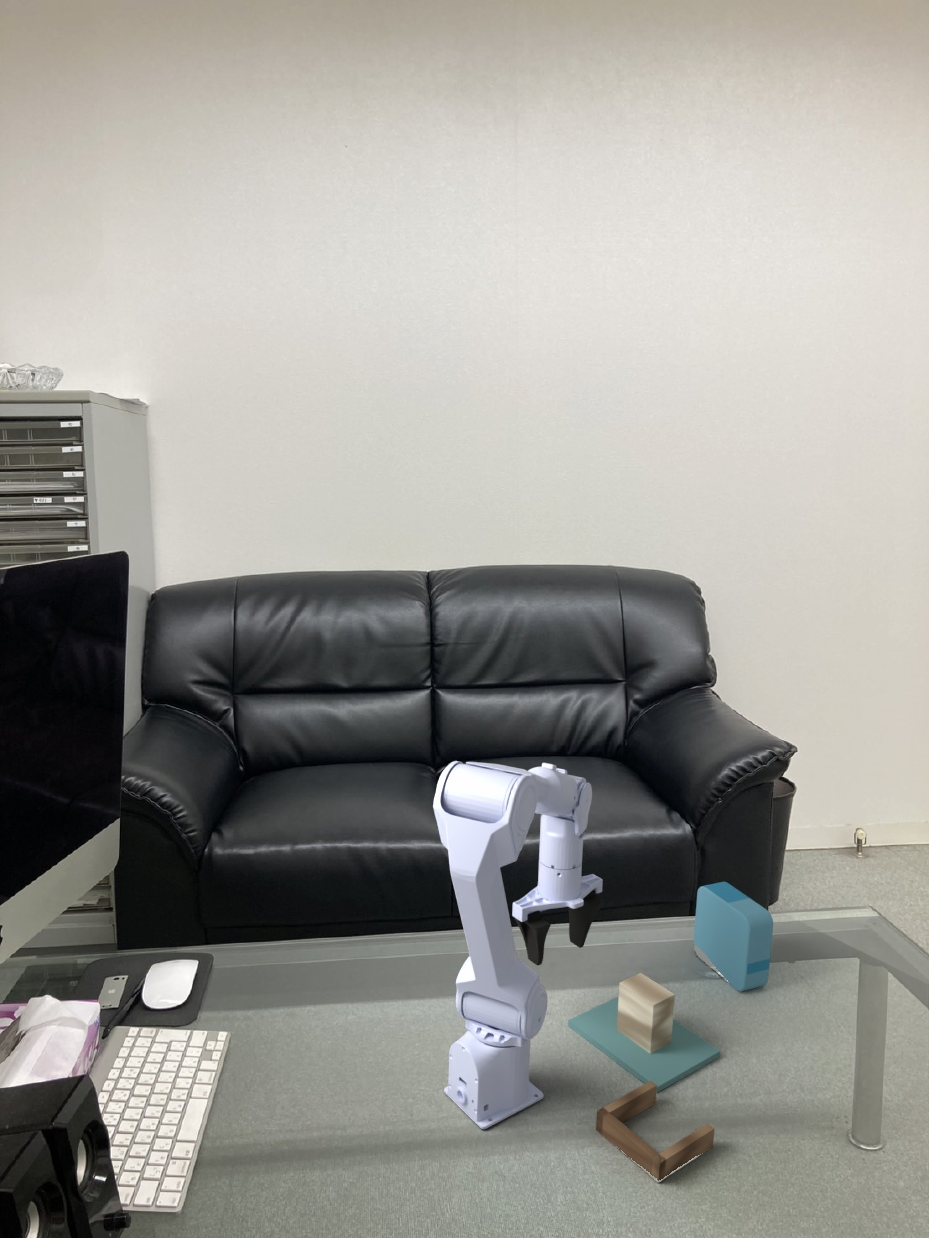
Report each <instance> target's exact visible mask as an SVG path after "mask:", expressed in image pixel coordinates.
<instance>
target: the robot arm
mask: <svg viewBox="0 0 929 1238" xmlns="http://www.w3.org/2000/svg"><path fill="white" fill-rule="evenodd" d="M592 789H593V788H592V784H591V783H590V782H587V779H586V778H585V777H581V776H576V775H572V774H571V775H570V774H568V770H567V769H563V768H558V767H557V765H556V764H552V763H547V762H542V764H541V766H536V767H532V768H530V769H528V770H526V769H524V768H520V767H519V768H518V767H514V766H508V765H504V764H498V763H491V762H489V763H487V762H477V761H466V762H465V763H463V762H462V761H457V760H454V761H452V762H450V763H448V765H447V766H446V767H445V768H444V769H443V771H442V772H441V773H440V776H439V779H438V781H437V784H436V790H435V794H434V798H433V805H432V808H433V812H434V817H435V820H436V824H437V830H438V833H439V838H440V841H441V844H442V845H443V846H444V848H446V850H447V853H448V864H449V871H450V872H449V873H450V876H451V881H452V885H453V889H454V893H455V898H456V902H457V906H458V911H459V914H460V919H461V924H462V927H463V932H464V936H465V941H466V945H467V949H468V954H469V955H468V957H467V959H466V960H465V961H464V963H463V965H462V966H461V968H460V970H459V972H458V975H457V977H456V980H455V986H456V995H455V1007H456V1009H457V1014H458V1017H460V1018H462V1019H465V1025H464V1028H465V1029H467V1031H465V1033H464V1035H462V1036H461V1037H460V1038H459V1039H458V1040H456V1041H455V1042H453V1043H452V1044H451V1046H450V1048H449V1051H448V1052H449V1053H448V1076H447V1077H448V1081H447V1083H448V1085H447V1086H445V1087H444V1094H446V1096H448V1098H450V1099H451V1101H453V1102H454V1103H455V1105H456V1106H458V1107H459V1108H460V1109H461V1111H463V1113H465V1114H466V1116H467V1117H468V1118H470V1119H471V1120H472V1121H473V1122H474V1123H475V1125H477V1127H479V1128H480V1129H482V1130H486V1129H488V1128H490V1127H492V1126H493V1125H496V1124H497V1123H500V1122H501V1121H503V1120H505V1119H507V1118H509V1117H511V1116H512V1115H514V1114H517V1113H518V1112H520V1111H522V1110H525V1109H526V1108H527V1107H530V1106H531V1105H534V1104H536V1103H537V1102H539V1101H541V1100H543V1099H544V1093H543V1092H542V1091H541V1090H540V1089H539V1088H537V1087H536V1086H535V1085H534V1084H533V1083H532V1082H531V1081H530V1059H531V1057H530V1056H531V1040H532V1039H534V1037H536V1036H537V1035H538V1034H539V1033H540V1031H541V1029H542V1027H543V1024H544V1022H545V1018H546V1015H547V1012H548V1011H547V1010H548V993H547V990H546V988H545V986H544V985H543V984H542V983H541V981H540V976H539V973H537V972H536V971H535V970H533V969H532V968H531V967H530V966H528V965H527V964H526V963H524V962H523V961H522V960H521V959H520V958H518V954H517V948H516V943H515V938H514V932H513V929H512V924H511V919H510V913H509V909H508V903H507V897H506V892H505V886H504V882H503V877H502V872H501V871H502V870H501V868H502V867H505V866H507V865H509V864H512V863H514V862H517V860H518V857H519V856H520V852H521V851H522V849H523V847H524V844H525V841H526V838H527V836H528V832H529V829H530V827H531V824H532V822H533V820H534V818H535V814H536V815H539V814H540V824H539V825H540V827H539V828H540V830H539V831H540V832H539V850H538V851H539V854H538V879H537V880H538V881H537V886H535V887H534V888H533V889H531V890H530V891H529V892H528V893H527V894H525V895H524V896H523V897H521V898H520V899H518V900H515V901H513V902H512V911H511V912H512V915H511V916H512V917H513V919H514V921H515V922H516V925H517V926H518V928H519V931H520V933H521V936H522V939H523V942H524V946H525V948H526V954H527V959H528V961H530V962H531V963H532V964H534V965H535V966H540V965H542V964H543V962H544V955H545V953H544V951H545V945H546V944H545V943H546V938H547V935H548V933H549V930H550V928H551V926H552V925H551V924H550V922H548V921H546V920H545V919H544V918H543V915H541V914H542V912H543V911H544V912H545V911H547V910H552V909H553V910H554V909H559V908H567V909H568V918H569V919H568V936H569V941H570V943H572V944H573V945H575V946H576V947H577V948H579V949H581V948H583V947H584V945H585V943H586V939H587V937H588V934H589V932H590V929H591V927H592V926H591V925H592V923H593V922H594V920H595V918H596V916H597V914H598V913H599V911H600V910H601V909H602V907H603V904H604V903H603V902H604V901H603V899H602V898H601V897H600V896H598V895H597V894H601V893H602V892H603V881H604V880H603V879H602V878H601V877H599V876H597V875H595V874H594V873H591V874H588V875H584V876H582V870H583V869H582V865H583V864H582V863H583V848H584V832H585V831H586V830H587V828H588V827H587V826H588V824H589V823H588V822H589V821H588V820H589V813H590V809H591V804H592V799H593V790H592Z"/></svg>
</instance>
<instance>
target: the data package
mask: <svg viewBox="0 0 929 1238" xmlns="http://www.w3.org/2000/svg"><path fill="white" fill-rule="evenodd" d="M696 893H697V894H696V908H695V920H694V933H693V943H695V945H697V947H698V948H700V949H701V951H703V953H705V955H707V957H708V959H710V961H711V962H712V964H714V966H715V967H716V969H718V971H719V972H720V973H721V974H722V975H723V976H724V977H725V978H726V980H728V982H729V983H728V985H730V987H732V988H734V989H735V990H736V991H737V992H746V991H749V990H753V989H755V988H760V987H764V986H766V985H767V983H768V980H769V971H770V963H771V962H770V961H771V953H772V952H771V951H772V939H773V930H774V920H773V917H772V914H771V913H770V911H769V910H768V909H766V908H765V907H763V906H762V905H761V904H759V903H757V902H756V901H754V900H753V899H752V898H751V897H749V896H748V895H746V894H745V893H743V892H741V890H739V889H737V888H735V886H733V885H731V884H730V883H729V882H726V881H720V882H715V883H712V884H706V885H703V886H700V887H699V888H698V889H697V892H696Z"/></svg>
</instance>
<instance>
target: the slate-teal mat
mask: <svg viewBox="0 0 929 1238" xmlns="http://www.w3.org/2000/svg"><path fill="white" fill-rule="evenodd" d="M618 1000H619V995H618V996H616V997H615V998H612V999H610V1000H608V1001H606V1002H604V1003H602V1004H600V1005H598V1006H597V1005H596V1007H593V1008H591V1009H588V1010H587V1011H585V1012H583V1013H580V1014H579V1015H576V1016H574V1017H572V1018H570V1019H568V1021H567V1026H568V1027H569V1028H570V1029H572V1030H573V1031H575V1032H576V1033H577V1034H578V1035H580V1036H581V1037H583V1038H584V1039H585V1040H586V1041H588V1043H591V1045H593V1046H594V1047H595V1048H597V1049H598V1050H600V1052H602V1053H603V1054H605V1055H606V1056H608V1057H609V1058H610V1059H612V1060H613V1061H614V1062H616V1063H617V1064H618V1065H619V1066H620V1067H622V1068H623V1069H625V1070H626V1071H627V1072H629V1074H631V1075H633V1077H635V1078H636V1079H638V1080H639V1081H641V1083H643V1085H644V1084H646V1083H647V1082H649V1081H652V1082H653V1083H655V1084H656V1085H657V1092H656V1094H657V1093H659V1092H661V1091H663V1090H664V1089H666V1088H667V1087H669V1086H671V1085H673V1084H675V1083H677V1082H678V1081H680V1080H681V1079H683V1078H685V1077H687V1076H689V1075H690V1074H692V1073H693V1072H695V1071H697V1070H699V1069H701V1068H702V1067H705V1066H706V1065H707V1064H709V1063H710V1062H713V1061H714V1060H716V1059H718V1058H719V1057H721V1050H720V1049H719V1048H717V1047H715V1046H714V1045H712V1044H711V1043H709V1042H708V1041H706V1040H705V1039H704V1038H702V1037H700V1036H699V1035H697V1034H696V1033H694V1032H693V1031H692V1030H690V1029H688V1028H687V1027H686V1026H685V1025H682V1024H681V1023H679V1022H678V1021H676V1019H673V1025H672V1038H671V1043H669V1044H667V1045H666V1046H664V1047H662V1048H660V1049H658V1050H656V1051H654V1052H653V1053H651V1054H650V1053H648V1052H647V1051H646V1050H644V1049H643V1048H641V1047H640V1046H639V1045H637V1044H636V1043H634V1042H633V1041H632V1040H630V1039H629V1038H628V1037H626V1036H625V1035H623V1034H622V1033H621V1032H619V1031H618V1030H617V1016H618Z"/></svg>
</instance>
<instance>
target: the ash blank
mask: <svg viewBox="0 0 929 1238" xmlns="http://www.w3.org/2000/svg"><path fill="white" fill-rule="evenodd" d="M618 987H619V988H618V996H619V1000H618V1016H617V1030H618V1031H619V1032H621V1033H622V1034H623V1035H625V1036H626V1037H628V1038H629V1039H630V1040H632V1041H633V1042H634V1043H636V1044H637V1045H639V1046H640V1047H641V1048H643V1049H644V1050H646V1051H647V1052H648V1053H650V1054H651V1053H653V1052H654V1051H656V1050H658V1049H660V1048H662V1047H664V1046H666V1045H667V1044H669V1043H671V1038H672V1025H673V1020H674V1009H675V998H676V995H675V993H673V992H671V991H670V990H668V989H667V988H665V987H664V986H662V985H661V984H659V983H657V982H656V981H654V980H652V978H649V977H648V976H646V975H645V974H643V973H642V972H639V973H637V974H635V975H633V976H630V977H629V978H627V979H624V980H622V981H619V984H618Z"/></svg>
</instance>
